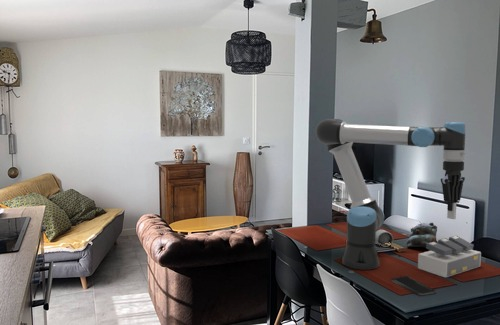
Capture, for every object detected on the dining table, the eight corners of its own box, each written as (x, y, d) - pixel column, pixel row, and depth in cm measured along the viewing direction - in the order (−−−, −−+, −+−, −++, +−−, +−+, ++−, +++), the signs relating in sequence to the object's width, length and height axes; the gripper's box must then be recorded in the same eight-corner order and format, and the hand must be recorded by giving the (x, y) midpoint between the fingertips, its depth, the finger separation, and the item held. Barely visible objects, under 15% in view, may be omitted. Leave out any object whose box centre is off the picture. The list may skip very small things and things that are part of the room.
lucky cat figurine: (400, 246, 189) (402, 219, 194) (416, 253, 194) (418, 226, 199) (427, 245, 176) (428, 215, 181) (444, 252, 181) (445, 223, 186)
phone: (419, 294, 132) (390, 278, 146) (419, 297, 132) (390, 281, 146) (437, 291, 135) (407, 275, 149) (437, 294, 135) (407, 278, 149)
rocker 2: (462, 252, 158) (463, 247, 157) (454, 254, 155) (456, 249, 155) (444, 242, 164) (445, 237, 164) (437, 243, 162) (438, 239, 161)
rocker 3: (472, 249, 162) (474, 244, 161) (465, 251, 159) (467, 246, 158) (454, 239, 168) (456, 235, 167) (447, 241, 165) (449, 236, 165)
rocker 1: (451, 254, 154) (452, 248, 153) (444, 256, 151) (445, 250, 151) (433, 246, 160) (434, 241, 160) (425, 248, 158) (426, 243, 157)
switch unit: (446, 277, 149) (447, 258, 148) (417, 268, 159) (418, 250, 159) (481, 266, 161) (482, 248, 160) (452, 258, 171) (453, 241, 171)
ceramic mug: (387, 242, 195) (388, 227, 195) (393, 247, 187) (393, 232, 187) (366, 243, 196) (366, 228, 195) (371, 248, 188) (371, 232, 187)
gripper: (452, 161, 150) (450, 222, 152) (472, 160, 156) (469, 218, 158) (434, 160, 156) (433, 218, 158) (454, 159, 163) (452, 215, 165)
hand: (451, 218), depth 158 cm, fingers closed
